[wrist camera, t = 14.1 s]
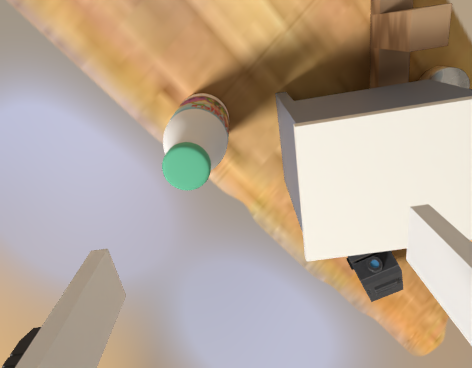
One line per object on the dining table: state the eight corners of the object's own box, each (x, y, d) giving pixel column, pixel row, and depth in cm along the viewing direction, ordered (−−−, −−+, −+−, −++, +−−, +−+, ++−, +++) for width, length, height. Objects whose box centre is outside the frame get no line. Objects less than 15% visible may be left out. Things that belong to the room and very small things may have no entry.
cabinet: (271, 90, 47) (295, 126, 29) (405, 68, 46) (517, 92, 28) (281, 183, 53) (306, 261, 35) (400, 166, 52) (488, 237, 34)
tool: (350, 177, 50) (406, 267, 41) (365, 225, 65) (409, 298, 56) (313, 195, 51) (359, 286, 42) (337, 238, 66) (374, 312, 57)
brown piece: (370, -20, 42) (414, -37, 32) (403, -26, 41) (457, -44, 31) (369, 144, 51) (402, 171, 41) (395, 140, 51) (435, 166, 41)
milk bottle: (217, 151, 51) (208, 216, 33) (170, 131, 50) (134, 188, 32) (237, 105, 48) (240, 149, 30) (188, 83, 47) (159, 116, 29)
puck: (407, 83, 47) (417, 86, 45) (447, 56, 46) (459, 58, 43) (424, 116, 49) (434, 121, 47) (463, 92, 48) (476, 95, 45)
